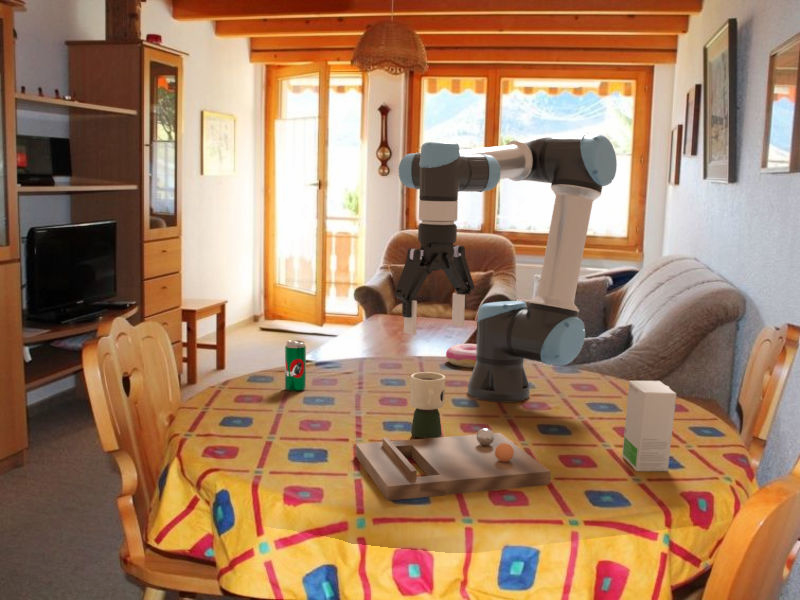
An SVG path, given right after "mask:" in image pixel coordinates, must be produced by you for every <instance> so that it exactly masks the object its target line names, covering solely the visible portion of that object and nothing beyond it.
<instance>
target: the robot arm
mask: <svg viewBox="0 0 800 600" xmlns="http://www.w3.org/2000/svg"><path fill="white" fill-rule="evenodd" d="M616 155H617V154H616V151H615V149H614V146H613V144H612V142H611V141H610V139H608V138H607V137H606V136H605V135H603V134H596V133H595V134H594V133H593V134H592V133H588V132H586V133H567V134H566V133H565V134H564V133H562V134H561V133H558V134H556V133H553V134H552V133H548V134H543V135H537V136H532V137H528V138H523V139H522V138H521V139H518V140H517V139H514V140H510V141H509V142H507V143H506V144H505V145H498V146H490V147H489V146H488V147H478V148H477V147H476V148H469V149H467V148H466V149H460V145H459V144H458V143H456V142H445V141H444V142H443V141H427V142H425V143H423V144H422V145H421V147H420V152H416V153H414V152H413V153H407V154H406V155H404V156H403V157H402V159H401V160H400V161H399V164H398V177H399V180H400V183H401V184H402V185H403V186H404V187H406V188H408V189H415V190H419V196H418V198H419V200H418V202H419V203H418V219H419V221H421V223H419V224H418V225H417V227H418V228H417V230H418V233H417V240H418V242H419V243H420V247H419V249H417V248H411V247H409V248H408V249H407V253H406V261H405V263H404V266H403V269H402V270H401V271H402V272H401V274H400V276H399V279H398V283H397V285H396V287H395V290H394V292H393V295H394V298H397V299H399V300H401V301H402V305H401V306H402V309H401V311H402V312H401V315H402V317H403V334H408V335H412V336H414V335H417V320H418V319H417V317H418V316H417V314H418V312H417V311H418V301H417V300H414V299H415V298H416V296H417V295H418V293H419V291H420V290H421V288H422V286H423V285H424V283H425V281H426V280H427V277H428V276H429V275H430V274H431V273H433V272H435V271H436V272H437V271H443V272H444V273H445V275H446V277H447V279H448V280H449V282H450V284H451V286H452V287H453V289H454V290H455V292H453V293H452V306H451V307H452V308H451V309H452V310H451V311H452V313H451V325H453V326H455V327H456V326H457V327H465V311H466V307H467V295H471V293H472V291H474V289H475V284H474V280H473V277H472V275H471V271H470V268H469V264H468V262H467V258H466V248H465V246H464V245H457V244H455V243H456V242H457V237H458V236H457V233H458V230H457V229H458V228H457V227H458V226H457V225H456V224H455V222H457V221H458V204H459V203H458V200H459V199H458V197H459V192H471V193H472V192H473V193H474V192H477V193H478V192H479V193H484V192H487V191H492V190H493V189H494V188H495V187H497V186H498V184H499V182H500V180H504V179H508V180H511V181H513V182H519V181H529V182H538V183H546V184H547V183H548V184H550V188H551V189H550V190H551V191H553V193H554V195H555V199H554V204H553V209H552V210H553V211H552V215H551V221H550V226H549V231H548V237H547V242H546V246H545V253H544V259H543V264H542V269H541V273H540V274H541V275H540V279H539V285H538V290H537V295H536V296H535V297H534V298H532V299H531V300H530V301H529V303H528V306H527V303H526V301H522V300H505V301H493V302H492V301H491V302H487V303H483V304H481V305H480V306H479V307H478V310H477V311H478V312H477V319H476V344H477V348H476V364H475V367H474V368H472V369H473V370H472V371H471V375H470V378H469V380H468V383H467V394H468V395H469V396H470V397H472V398H474V399H478V400H480V401H481V400H483V401H487V402H493V403H494V402H497V403H511V402H512V403H513V402H520V401H524V400H527V399H528V398H529V397H530V384H529V379H528V377H527V374H526V370H525V366H524V365H525V364H524V361H525V360H529V361H534V362H538V363H543V364H544V365H554V366H558V367H559V366H561V367H562V366H567V365H568V364H570V363H572V362H573V361H574V360H575V359H576V358H577V357H578V356H579V354H580V352H581V350H582V348H583V346H584V344H585V338H586V329H585V327H586V325H585V323H584V321H583V320H581V318H579V313H580V309H579V308H578V306H576V304H575V299H576V293H577V288H578V282H579V277H580V271H581V267H582V262H583V255H584V252H585V251H584V250H585V246H586V245H585V244H586V240H587V234H588V229H589V228H588V227H589V225H590V219H591V212H592V207H593V203H594V201H595V200H597V199H598V198H599V197H601V195H602V190H603V187H607V186H608V185H610V184H611V183H612V181H614V179H615V177H616V173H617V165H618V164H617V162H618V161H617V156H616ZM524 359H525V360H524Z"/></svg>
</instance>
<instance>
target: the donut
mask: <svg viewBox="0 0 800 600" xmlns="http://www.w3.org/2000/svg"><path fill="white" fill-rule="evenodd" d="M476 348H477V343H459V344H454V345H451V346H450V347H448V349H447V350H446V352H445V358H446V359H447V361H448V362H449V363H450V364H451V365H454V366H456V367H462V368H470V369H471V368H472V369H474V367H475V364H476Z"/></svg>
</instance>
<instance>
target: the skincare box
mask: <svg viewBox="0 0 800 600" xmlns="http://www.w3.org/2000/svg"><path fill="white" fill-rule="evenodd" d="M676 401H677V392H675V391H674V390H672V389H671V388H670V386H669V385H666V384H664V383H663V382H662V381H661V380H629V381H628V393H627V403H626V404H627V405H626V413H625V422H624V423H625V424H624V432H623V433H624V434H623V435H624V436H623V444H622V451H621V452H622V454H621V455H622V458H624V459H625V460H626V462H627V463H628V465H629V464H630V466H631V467H632V468H633V469H634V470H635V471H636V472H669V466H670V465H669V463H670V457H671V456H670V454H671V448H672V447H671V446H672V437H673V436H672V435H673V427H674V421H675V420H674V419H675V412H676V411H675V409H676Z"/></svg>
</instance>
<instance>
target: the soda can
mask: <svg viewBox="0 0 800 600" xmlns="http://www.w3.org/2000/svg"><path fill="white" fill-rule="evenodd" d="M284 349H285V350H284V388H285V389H286V391H289V392H293V391H297V392H302V391H304V390H305V389H306V384H307V381H306V377H307V375H306V371H307V369H306V368H307V367H306V366H307V365H306V364H307V363H306V362H307V361H306V360H307V347H306V344H305V341H304V340H298V339H295V340H287V341H286V344H285V346H284Z"/></svg>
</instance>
